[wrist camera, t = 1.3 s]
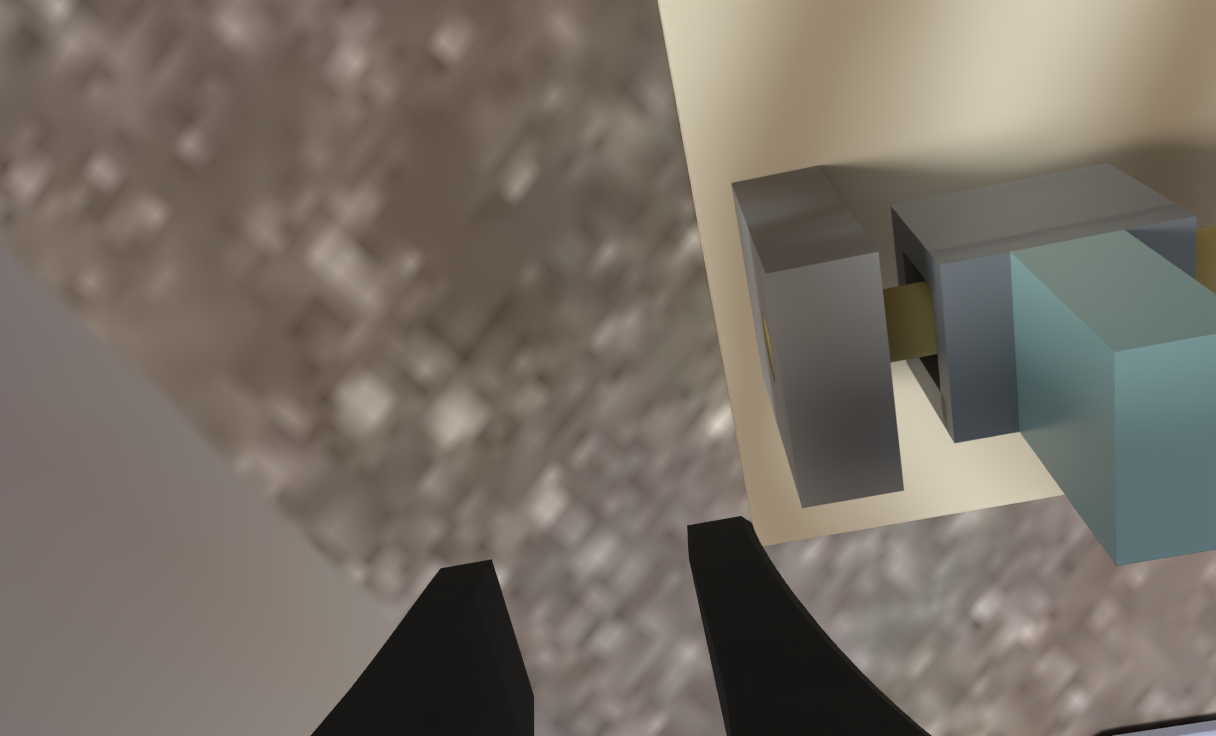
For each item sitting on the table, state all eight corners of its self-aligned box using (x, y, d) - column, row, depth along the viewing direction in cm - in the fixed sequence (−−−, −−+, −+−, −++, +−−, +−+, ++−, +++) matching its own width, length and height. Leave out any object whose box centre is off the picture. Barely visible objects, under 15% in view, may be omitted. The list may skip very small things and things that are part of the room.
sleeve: (1107, 162, 18) (1351, 308, 12) (1108, 324, 19) (1332, 530, 13) (890, 205, 18) (1024, 368, 12) (906, 362, 19) (1035, 579, 13)
